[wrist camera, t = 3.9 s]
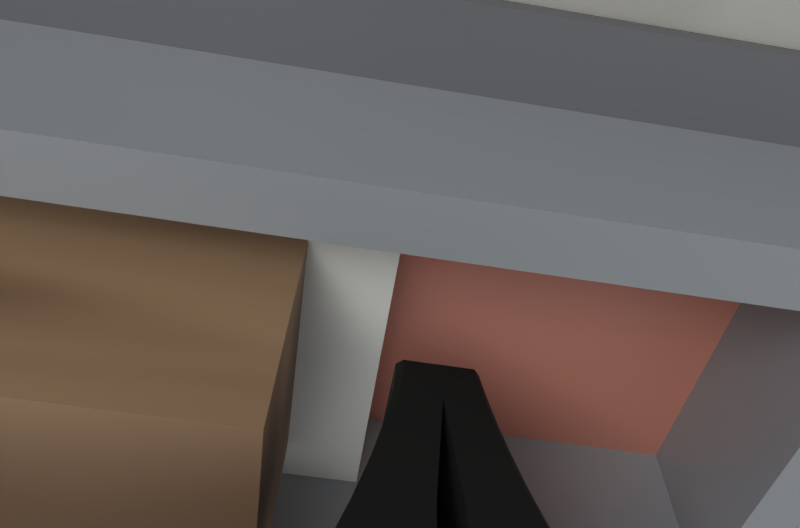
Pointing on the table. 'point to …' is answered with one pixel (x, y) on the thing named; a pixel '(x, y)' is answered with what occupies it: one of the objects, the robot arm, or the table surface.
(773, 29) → the table surface
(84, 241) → the walnut block
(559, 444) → the trap channel
